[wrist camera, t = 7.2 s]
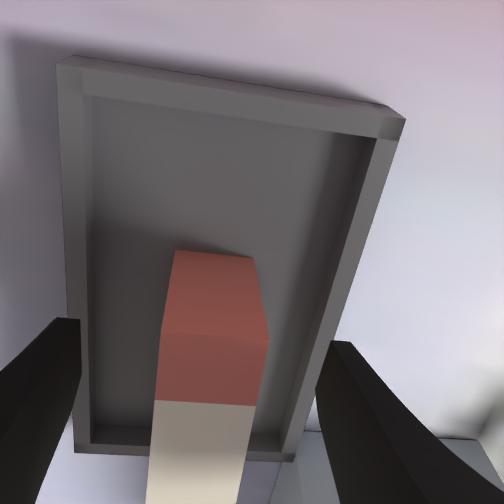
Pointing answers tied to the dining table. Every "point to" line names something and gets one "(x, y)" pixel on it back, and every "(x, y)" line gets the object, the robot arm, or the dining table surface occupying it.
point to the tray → (208, 228)
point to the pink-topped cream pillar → (206, 379)
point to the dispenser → (321, 478)
